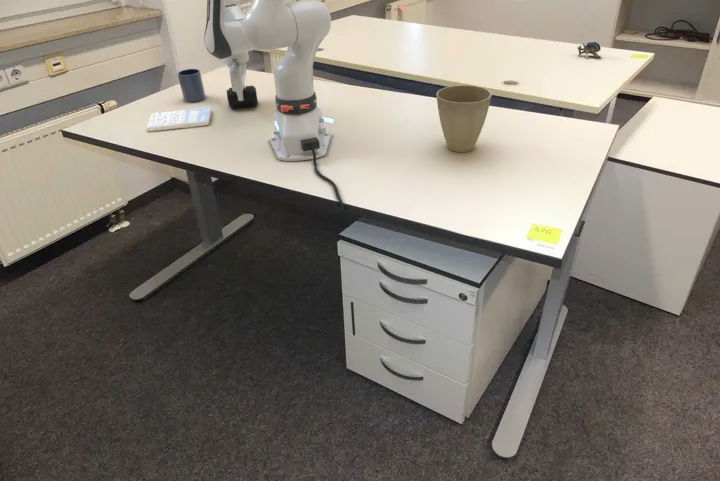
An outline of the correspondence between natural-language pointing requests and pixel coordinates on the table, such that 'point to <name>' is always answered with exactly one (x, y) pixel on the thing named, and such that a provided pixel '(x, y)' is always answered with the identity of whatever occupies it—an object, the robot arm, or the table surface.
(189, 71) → the pen cup
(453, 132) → the plant pot
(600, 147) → the table surface
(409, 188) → the table surface
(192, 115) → the calculator
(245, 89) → the end cap
